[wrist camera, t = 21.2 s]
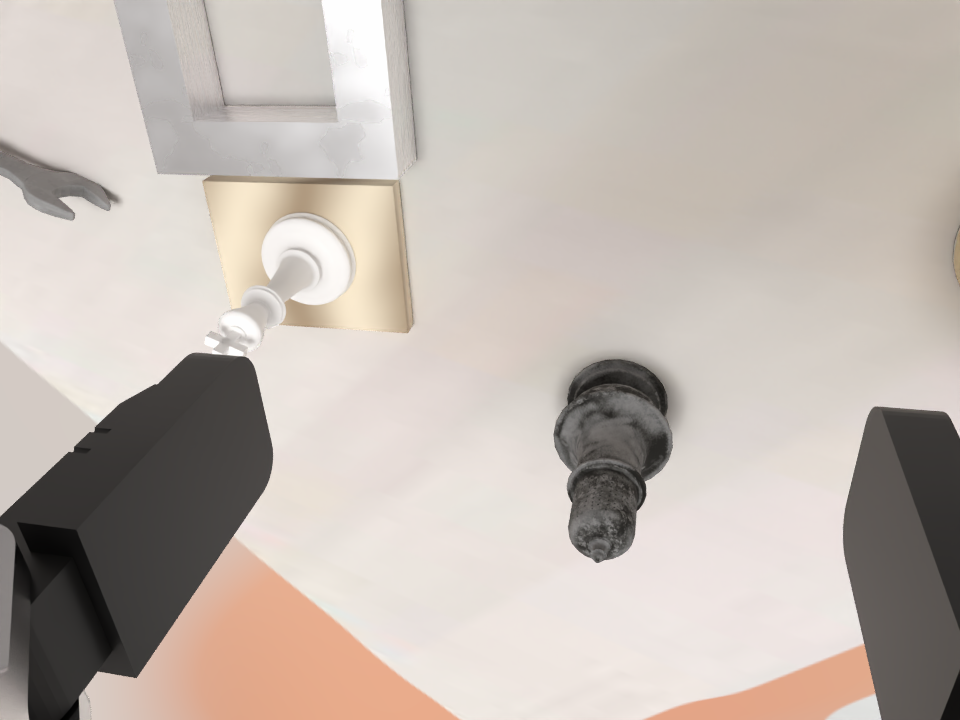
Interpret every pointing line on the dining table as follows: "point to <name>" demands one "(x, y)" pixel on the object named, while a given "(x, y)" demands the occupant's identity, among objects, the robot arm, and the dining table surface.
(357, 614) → the dining table surface
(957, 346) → the dining table surface
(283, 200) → the birch pad
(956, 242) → the coffee cup
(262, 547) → the dining table surface
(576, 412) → the salt shaker
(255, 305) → the chess piece
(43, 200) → the combination wrench
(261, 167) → the socket block
